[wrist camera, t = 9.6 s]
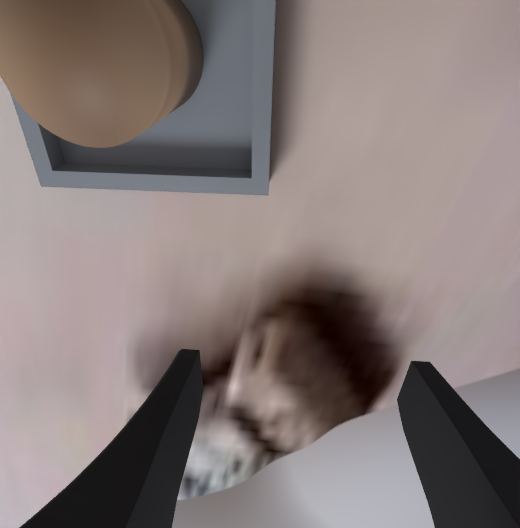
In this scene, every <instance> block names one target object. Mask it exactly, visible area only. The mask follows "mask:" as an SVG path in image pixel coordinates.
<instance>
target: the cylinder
mask: <svg viewBox="0 0 520 528" xmlns="http://www.w3.org/2000/svg"><path fill="white" fill-rule="evenodd" d="M203 59H204V55H203V45H202V40H201V36H200V33H199V30H198V27H197V25H196V23H195V20H194V19H193V17H192V15H191V13H190V12H189V10H188V9H187V8H186V6H185V5H184V4H183V3H182V1H181V0H0V75H1V77H2V79H3V81H4V83H5V84H6V86H7V88H8V90H9V91H10V92H11V94H12V95H13V97H14V98H15V99H16V101H17V102H18V103H19V104H20V106H21V107H22V108H23V109H24V110H25V111H26V112H27V113H28V114H29V115H30V116H31V117H32V118H33V119H34V120H35V121H36V122H38V123H39V124H40V125H41V126H42V127H44V128H45V129H47V130H48V131H50V132H51V133H53V134H54V135H56V136H58V137H60V138H62V139H64V140H67V141H69V142H72V143H74V144H78V145H82V146H86V147H93V148H106V147H113V146H117V145H120V144H123V143H125V142H128V141H130V140H132V139H133V138H135V137H136V136H137V135H139V134H140V133H142V132H143V131H145V130H146V129H148V128H149V127H151V126H152V125H154V124H155V123H157V122H158V121H159V120H161V119H162V118H164V117H165V116H167V115H168V114H170V113H171V112H173V111H174V110H176V109H177V108H178V107H180V106H181V105H183V104H184V103H185V102H186V101H187V100H189V98H190V97H191V96H192V95H193V93H194V92H195V90H196V88H197V86H198V84H199V82H200V78H201V75H202V70H203Z"/></svg>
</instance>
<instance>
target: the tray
mask: <svg viewBox="0 0 520 528" xmlns="http://www.w3.org/2000/svg"><path fill="white" fill-rule="evenodd" d="M181 1H182V3H183V4H184V5H185V6H186V8H187V9H188V10H189V12H190V13H191V15H192V17H193V19H194V20H195V23H196V25H197V27H198V30H199V33H200V36H201V40H202V45H203V55H204V59H203V70H202V75H201V78H200V82H199V84H198V86H197V88H196V90H195V92H194V93H193V95H192V96H191V97H190V98H189V100H187V101H186V102H185V103H184V104H183V105H181V106H180V107H178V108H177V109H176V110H174V111H173V112H171V113H170V114H168V115H167V116H165V117H164V118H162V119H161V120H159V121H158V122H157V123H155V124H154V125H152V126H151V127H149V128H148V129H146V130H145V131H143V132H142V133H140V134H139V135H137V136H136V137H135V138H133V139H132V140H130V141H128V142H125V143H123V144H120V145H117V146H113V147H106V148H93V147H86V146H82V145H78V144H74V143H72V142H69V141H67V140H64V139H62V138H60V137H58V136H56V135H54V134H53V133H51V132H50V131H48V130H47V129H45V128H44V127H42V126H41V125H40V124H39V123H38V122H36V121H35V120H34V119H33V118H32V117H31V116H30V115H29V114H28V113H27V112H26V111H25V110H24V109H23V108H22V107H21V106H20V104H19V103H18V102H17V101H16V99H15V98H14V97H13V95H12V94H11V92H10V94H11V97H12V100H13V103H14V106H15V109H16V112H17V115H18V118H19V121H20V124H21V127H22V130H23V133H24V136H25V139H26V142H27V145H28V148H29V151H30V154H31V157H32V160H33V163H34V166H35V169H36V172H37V175H38V179H39V182H40V185H41V187H66V188H92V189H117V190H143V191H168V192H194V193H220V194H245V195H268V191H269V173H270V147H271V120H272V94H273V68H274V41H275V15H276V0H181Z"/></svg>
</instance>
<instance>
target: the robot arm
mask: <svg viewBox="0 0 520 528" xmlns="http://www.w3.org/2000/svg"><path fill="white" fill-rule="evenodd" d="M202 394H203V381H202V371H201V362H200V352H199V350H188V349H181V350H180V351H179V352H178V354H177V355H176V357H175V359H174V360H173V362H172V363H171V365H170V367H169V368H168V370H167V371H166V373H165V374H164V376H163V377H162V378H161V380H160V381H159V383H158V384H157V386H156V387H155V388H154V390H153V391H152V392H151V394H150V395H149V396H148V398H147V399H146V401H145V402H144V403H143V404H142V406H141V407H140V408H139V410H138V411H137V412H136V413H135V414H134V416H133V417H132V418H131V419H130V421H129V422H128V423H127V424H126V425H125V427H124V428H123V429H122V430H121V431H120V432H119V434H118V435H117V436H116V437H115V438H114V439H113V440H112V441H111V443H110V444H109V445H108V446H107V447H106V448H105V449H104V450H103V451H102V452H101V453H100V454H99V455H98V456H97V457H96V458H95V459H94V460H93V461H92V462H91V463H90V464H89V465H88V466H87V467H86V468H85V469H84V470H83V471H82V472H81V473H80V474H79V475H78V476H77V477H76V478H75V479H74V480H73V481H72V482H71V483H70V484H69V485H68V486H67V487H66V488H65V489H64V490H62V491H61V492H60V493H59V494H58V495H57V496H56V497H54V498H53V499H52V500H51V501H50V502H49V503H48V504H47V505H45V506H44V507H43V508H42V509H41V510H40V511H39V512H37V513H36V514H35V515H34V516H33V517H32V518H31V519H29V520H28V521H27V522H26V523H25V524H23V525H22V526H21V527H20V528H172V522H173V517H174V511H175V507H176V501H177V497H178V493H179V489H180V484H181V481H182V477H183V474H184V470H185V466H186V463H187V459H188V455H189V452H190V448H191V444H192V441H193V437H194V433H195V430H196V426H197V422H198V418H199V412H200V406H201V400H202ZM397 401H398V406H399V412H400V417H401V421H402V425H403V430H404V433H405V436H406V439H407V442H408V445H409V448H410V451H411V454H412V457H413V460H414V463H415V466H416V468H417V472H418V475H419V477H420V480H421V483H422V486H423V489H424V492H425V495H426V498H427V500H428V504H429V508H430V511H431V514H432V518H433V522H434V526H435V528H520V459H519V458H518V457H516V455H515V454H514V453H513V452H512V451H511V450H509V448H508V447H507V446H506V445H505V444H504V443H503V442H502V441H501V440H500V439H499V438H498V437H497V436H496V435H495V434H494V433H492V431H491V430H490V429H489V428H488V427H487V426H486V425H485V424H484V423H483V422H482V421H481V419H480V418H479V417H478V416H477V415H476V414H475V413H474V412H473V411H472V410H471V409H470V407H469V406H468V405H467V404H466V403H465V402H464V401H463V400H462V398H461V397H460V396H459V395H458V394H457V393H456V392H455V390H454V389H453V388H452V387H451V386H450V385H449V384H448V382H447V381H446V380H445V379H444V378H443V377H442V375H441V374H440V373H439V372H438V371H437V370H436V369H435V367H434V366H433V365H432V364H431V363H430V362H422V361H411V363H410V366H409V369H408V371H407V374H406V377H405V380H404V382H403V385H402V388H401V390H400V393H399V396H398V398H397Z"/></svg>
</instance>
